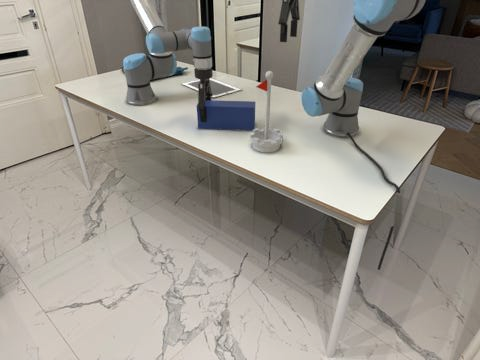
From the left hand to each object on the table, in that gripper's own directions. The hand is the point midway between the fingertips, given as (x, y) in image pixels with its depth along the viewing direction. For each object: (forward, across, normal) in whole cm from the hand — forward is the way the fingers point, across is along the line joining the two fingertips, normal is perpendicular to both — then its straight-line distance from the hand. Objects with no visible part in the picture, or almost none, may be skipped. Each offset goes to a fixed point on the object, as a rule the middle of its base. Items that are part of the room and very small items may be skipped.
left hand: (206, 116), depth 152 cm
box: (+5, 0, +9) cm, 10 cm away
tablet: (+4, -55, -7) cm, 55 cm away
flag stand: (+5, +18, +27) cm, 33 cm away
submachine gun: (+4, -79, -44) cm, 91 cm away
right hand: (-30, -12, +35) cm, 48 cm away
